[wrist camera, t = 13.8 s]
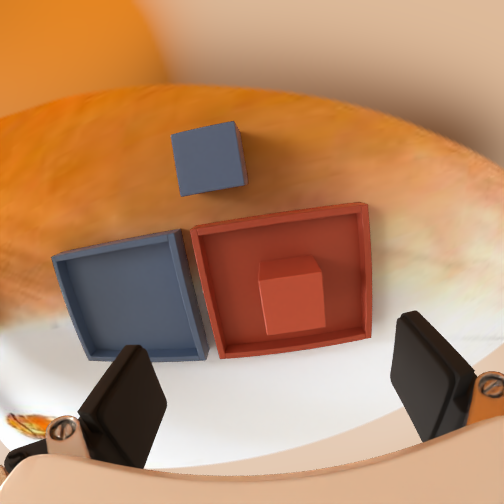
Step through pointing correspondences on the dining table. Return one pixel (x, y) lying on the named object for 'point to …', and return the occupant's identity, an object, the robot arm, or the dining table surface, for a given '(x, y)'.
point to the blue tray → (133, 298)
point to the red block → (292, 294)
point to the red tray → (281, 247)
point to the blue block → (209, 159)
